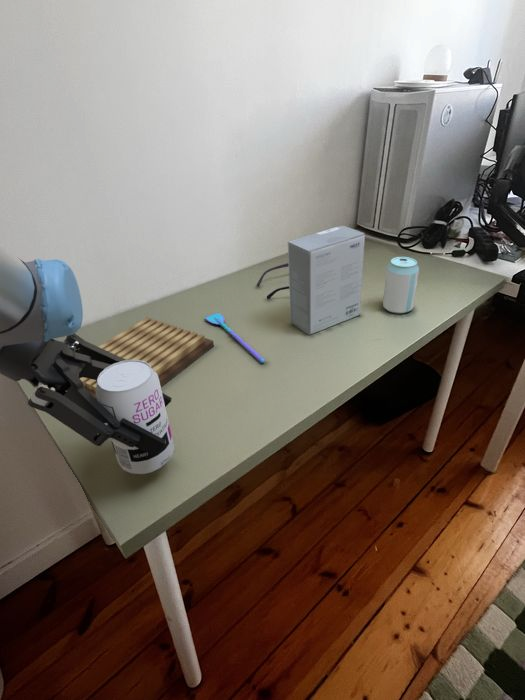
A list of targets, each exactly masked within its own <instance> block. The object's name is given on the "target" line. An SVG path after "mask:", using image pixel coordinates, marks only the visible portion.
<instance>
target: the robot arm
mask: <svg viewBox="0 0 525 700" xmlns="http://www.w3.org/2000/svg"><path fill="white" fill-rule="evenodd" d="M82 301H83V300H82V296H81V291H80V288H79V284H78V280H77V278H76V276H75V273H74V271H73V270H72V267H70V265H69V264H68V263H66V262H65V261H64V260H61V259H40V258H36V259H33V260H30V261H26V262H25V261H24V260H23V259H21V258H20V257H18V256H16V255H15V254H14V253H13V252H12V251H10V249H8V248H7V247H5V246H4V245H3V244H2V243H0V375H1V376H4V377H6V378H8V379H11V381H14V382H19V381H21V380H25V381H26V382H28V383H30V385H31V386H32V387H33V388H34V391H33V394H32V395H31V396H30V398H29V399H28V400H27V405H28V406H29V407H31V408H33V409H36V410H38V411H41V412H44V413H46V414H48V415H50V416H51V417H52V418H54V419H56V420H57V421H59V422H60V423H61V424H62V425H64V426H66V427H67V428H69V429H70V430H71V431H73V432H75V433H76V434H78V435H80V437H83V438H84V439H86V440H87V441H89V443H91V444H93V445H94V446H96V447H101V446H102V445H104V444H105V442H107V440H108V439H110V438H113V439H115V440H117V441H119V442H121V443H123V444H125V445H127V446H129V447H134V446H135V447H137V448H138V449H140V450H142V451H144V452H146V453H148V454H150V455H152V456H154V455H155V454H156V453H157V452H158V451H159V450H160V449H161V448H162V447H163V446H164V445H165V441H166V440H164V439H162V438H160V437H158V436H157V435H155V434H153V433H151V432H149V431H147V430H145V429H143V428H141V427H140V426H138V425H136V424H134V423H132V422H130V421H128V420H126V419H124V418H123V419H122V420H121V421H120V422H119V421H118V420H117V419H116V418H115V417H114V416H113V415H112V414H111V413H110V412H109V411H108V410H107V409H106V408H105V407H104V406H102V405H101V404H100V403H99V402H98V401H97V400H96V399H95V398H94V397H93V396H92V395H91V394H90V393H89V392H88V391H87V390H86V389H85V388H84V387H83V382H82V381H81V380H80V379H79V378H82V377H84V378H89V379H93V380H97V378H98V376H99V374H100V373H101V372H102V371H103V370H104V369H105V368H107V367H109V366H110V365H112V364H115V363H118V362H121V361H126V359H124V358H122V357H119V356H117V355H115V354H113V353H111V352H108V351H106V350H104V349H102V348H100V347H99V346H98V345H95V344H93V343H91V342H89V341H86V340H85V339H84V338H82V337H80V336H79V335H78V334H76V333H78V331H79V330H80V329H81V327H82V324H83V318H84V311H83V302H82ZM64 337H65V338H64ZM59 338H64V339H63V341H61V340H57V339H59ZM162 395H163V399H164V404H165V408H166V407H168V405H169V404H170V403H171V402H172V400H173V399H172V397H171V396H169V395H167V394H165V393H164V392H162ZM105 423H107V424H108V425H106V424H105Z"/></svg>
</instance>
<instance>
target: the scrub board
mask: <svg viewBox="0 0 525 700" xmlns="http://www.w3.org/2000/svg"><path fill="white" fill-rule="evenodd" d="M98 347H100V348H102V349H104V350H106V351H108V352H111V353H113V354H115V355H117V356H119V357H122V358H124V359H126V360H141V361H144V362H146V363H148V364H149V365H150V366H151V368H152V369H153V370H154V371H155V372H156V373H157V375H158V378H159V382H160V386H161V388H163V386H165V385H166V384H167V383H169V382H170V381H172V380H173V379H174V378H175V377H176V376H178V375H179V374H180V373H181V372H184V370H185V369H187V368H188V367H190V366H191V365H192V364H193V363H195V362H196V361H197V360H198V359H200V358H202V357H203V356H204V355H205V354H206V353H208V352H209V351H210V350H212V349H213V348H214V347H215V345H214V340H212V339H209V338H206V337H205V334H201V333H199V334H198V332H195V331H193V332H191V330H190V329H185V330H184V328H183V327H178V326H177V325H175V324H170V323H167V322H166V323H165V322H164V321H161V320H158V319H156V318H153V319H152V317H148V316H147V317H145V318H144V319H142V320H140V321H138V322H137V323H135V324H133V325H132V326H131V327H128V328H127V329H125V330H124V331H122V332H120V333H118V334H117V335H115V336H113V337H112V338H110V339H108V340H107V341H105V342H103V343H102V344H101V345H99V346H98ZM79 379H80V380H81V381H82V382H83V387H84V388H85V389H86V390H87V391H88V392H89V393H90V394H91V395H92V396H93V397H94V398H95V399H96V400H97V397H96V391H95V388H96V385H97V380H93V379H89V378H84V377H82V378H79ZM97 401H98V400H97Z"/></svg>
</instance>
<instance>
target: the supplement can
mask: <svg viewBox="0 0 525 700" xmlns="http://www.w3.org/2000/svg"><path fill="white" fill-rule="evenodd" d="M95 391H96V397H97V400H98V402H99V403H100V404H101V405H102V406H104V407H105V408H106V409H107V410H108V411H109V412H110V413H111V414H112V415H113V416H114V417H115V418H116V419H117V420H118V421H119V422H120V421H121V420H122V419H123V418H124V419H126V420H128V421H130V422H132V423H134V424H136V425H138V426H140V427H141V428H143V429H145V430H147V431H149V432H151V433H153V434H155V435H157V436H158V437H160V438H162V439H164V440H166V441H165V445H164V446H163V447H162V448H161V449H160V450H159V451H158V452H157V453H156V454H155V455H154V456H152V455H150V454H148V453H146V452H144V451H142V450H140V449H138V448H137V447H135V446H134V447H129V446H127V445H125V444H123V443H121V442H119V441H117V440H115V439H113V438H109V439H110V442H111V445H112V448H113V451H114V453H115V457H116V460H117V463H118V465H119V466H120V468H121V469H122V470H123V471H125V472H128V473H130V474H138V475H144V474H149V473H153V472H155V471H157V470H159V469H160V468H162V467H163V466H164V465H166V464H167V463H168V462H169V461H170V460H171V458H172V456H173V455H174V452H175V451H174V450H175V444H174V440H173V439H174V438H173V435H172V431H171V425H170V422H169V418H168V413H167V408H166V407H165V404H164V399H163V395H162V393H163V391H162V387H161V386H160V382H159V378H158V375H157V373H156V372H155V371H154V370H153V369H152V368H151V366H150V365H149V364H148V363H146V362H144V361H141V360H126V361H121V362H118V363H115V364H112V365H110V366H109V367H107V368H105V369H104V370H103V371H102V372H101V373H100V374H99V376H98V378H97V385H96V388H95ZM105 424H106V425H108V424H107V423H105Z"/></svg>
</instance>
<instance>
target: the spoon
mask: <svg viewBox="0 0 525 700" xmlns="http://www.w3.org/2000/svg"><path fill="white" fill-rule="evenodd" d="M205 320H206V321H207V322H209V323H211V324H213V325H218V326H221V327H222V328H223V329H224V330H225V331H226V332H228V334H229V335H230V336H232V338H234V340H236V341H237V342H238V343H239V344H240V345H241V346H242V347H244V348H245V350H247V352H249V353H250V354H251V355H252V356H253V357H254V358H255V359H256V360H257V361H259V363H260V364H264V363H265V362H266V359H264V358H263V356H261V355H260V354H259V353H258V352H257V351H256V350H254V348H252V347H251V346H250V345H249V344H248V343H247V342H246V341H245V340H243V338H241V337H240V336H239V335H238V334H237V333H236V332H235V331H233V330H232V329H231V328H230V327H228V325H227V324H226V323H225V316H224V315H223V314H222V313H221V312H217V313H216V312H215V313H213V314H211V315H207V316H205Z"/></svg>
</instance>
